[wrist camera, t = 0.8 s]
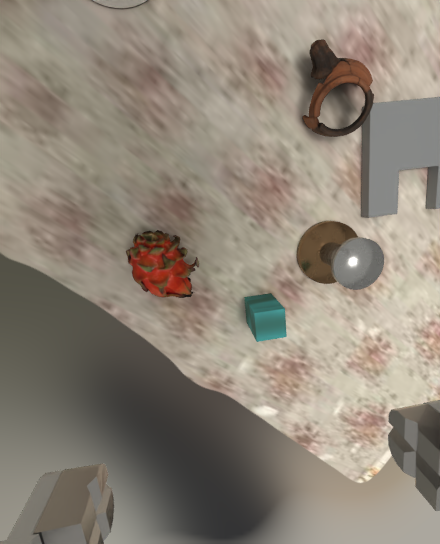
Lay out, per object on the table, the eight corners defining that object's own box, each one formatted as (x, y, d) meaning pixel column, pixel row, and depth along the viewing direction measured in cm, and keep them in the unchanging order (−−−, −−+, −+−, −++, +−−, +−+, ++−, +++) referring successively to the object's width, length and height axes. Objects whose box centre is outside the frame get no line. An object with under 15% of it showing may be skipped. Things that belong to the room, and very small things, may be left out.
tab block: (244, 297, 49) (254, 313, 42) (270, 293, 50) (284, 308, 43) (246, 322, 50) (256, 341, 44) (272, 318, 51) (286, 336, 44)
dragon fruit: (141, 221, 46) (188, 277, 51) (101, 258, 41) (156, 315, 46) (170, 209, 39) (220, 275, 44) (125, 251, 35) (186, 319, 40)
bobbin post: (295, 225, 47) (322, 231, 38) (355, 217, 48) (395, 222, 39) (298, 285, 50) (324, 305, 41) (355, 276, 51) (393, 294, 41)
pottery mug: (372, 93, 44) (393, 109, 38) (315, 137, 49) (326, 157, 43) (333, 14, 38) (351, 19, 32) (272, 72, 43) (278, 85, 37)
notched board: (362, 107, 44) (370, 103, 42) (461, 98, 45) (473, 93, 43) (361, 216, 48) (368, 217, 46) (452, 204, 50) (463, 205, 48)
